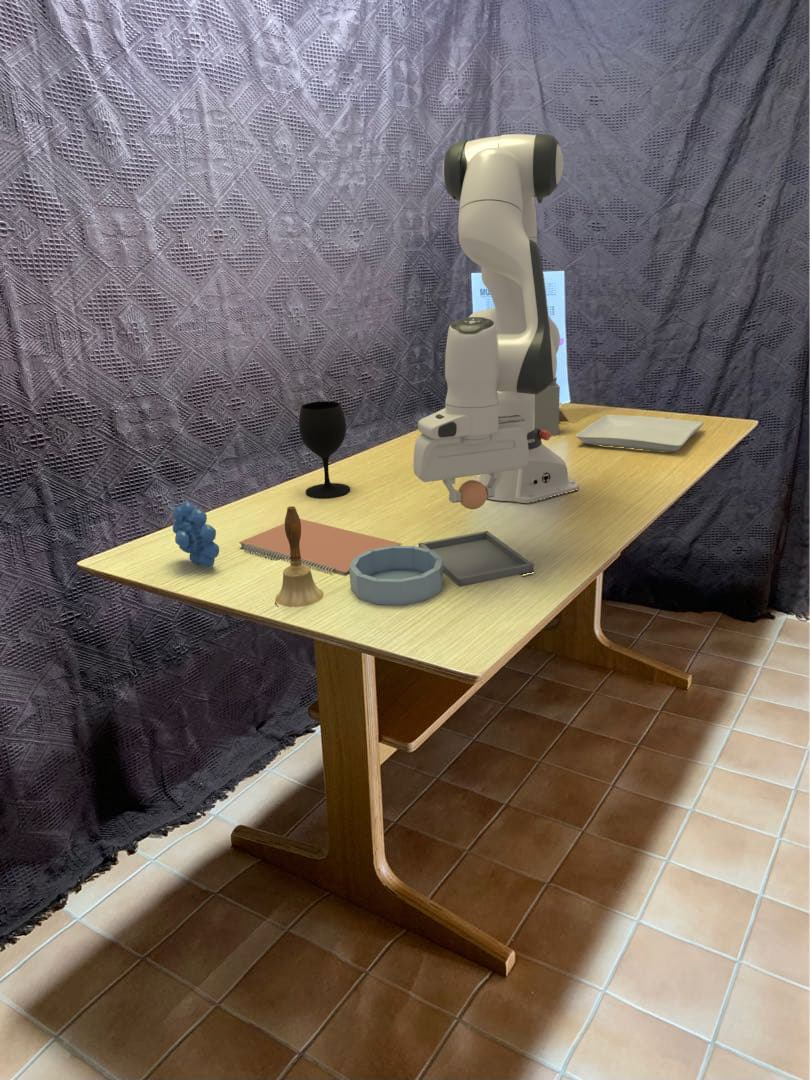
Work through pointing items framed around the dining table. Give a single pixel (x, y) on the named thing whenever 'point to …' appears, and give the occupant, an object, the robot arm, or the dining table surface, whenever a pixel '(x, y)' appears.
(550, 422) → the perfume bottle
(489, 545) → the tray
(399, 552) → the shallow grey bowl
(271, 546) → the notebook
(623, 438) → the square plate
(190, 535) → the grapes
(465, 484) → the ball
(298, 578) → the hand bell
